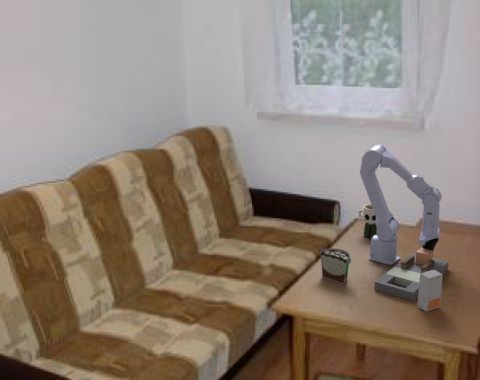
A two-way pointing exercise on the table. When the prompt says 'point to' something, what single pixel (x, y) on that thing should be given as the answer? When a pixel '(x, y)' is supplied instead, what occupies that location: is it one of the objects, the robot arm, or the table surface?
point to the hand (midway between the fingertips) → (428, 256)
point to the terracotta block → (423, 256)
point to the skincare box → (430, 290)
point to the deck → (406, 279)
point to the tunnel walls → (411, 259)
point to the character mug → (369, 220)
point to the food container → (335, 264)
